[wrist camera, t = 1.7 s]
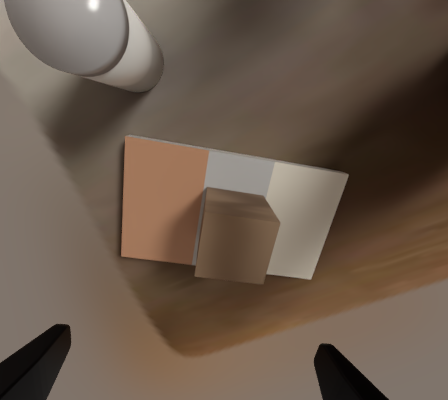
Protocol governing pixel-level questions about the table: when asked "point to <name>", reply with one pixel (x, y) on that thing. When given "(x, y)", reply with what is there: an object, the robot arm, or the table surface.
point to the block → (236, 236)
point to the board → (229, 180)
